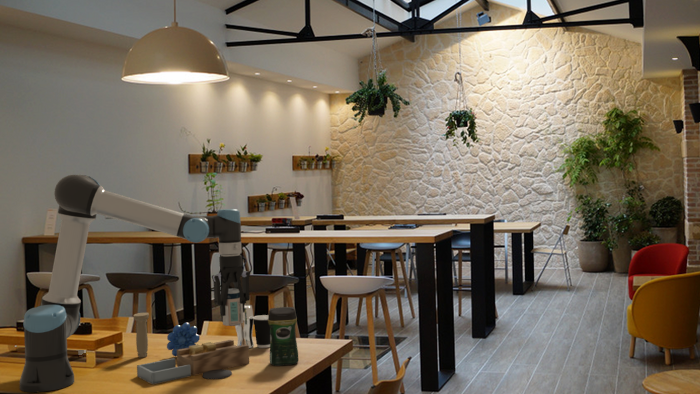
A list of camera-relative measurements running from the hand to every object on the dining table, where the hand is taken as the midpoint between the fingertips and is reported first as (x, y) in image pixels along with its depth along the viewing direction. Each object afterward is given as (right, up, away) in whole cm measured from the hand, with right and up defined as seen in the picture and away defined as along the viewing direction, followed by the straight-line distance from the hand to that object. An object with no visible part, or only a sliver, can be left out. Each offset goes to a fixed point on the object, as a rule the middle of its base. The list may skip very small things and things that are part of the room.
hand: (233, 323), depth 224 cm
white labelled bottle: (0, -1, 0) cm, 1 cm away
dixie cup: (+8, -12, +20) cm, 25 cm away
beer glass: (+1, -13, +20) cm, 23 cm away
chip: (-10, -9, -8) cm, 16 cm away
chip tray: (-19, -14, -15) cm, 28 cm away
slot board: (-6, -13, -5) cm, 15 cm away
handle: (-34, -14, +10) cm, 38 cm away
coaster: (-2, -13, -16) cm, 21 cm away
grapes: (-19, -13, +9) cm, 25 cm away
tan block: (-7, -9, -6) cm, 12 cm away
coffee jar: (+18, -13, -4) cm, 22 cm away
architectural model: (-56, -15, +13) cm, 59 cm away
